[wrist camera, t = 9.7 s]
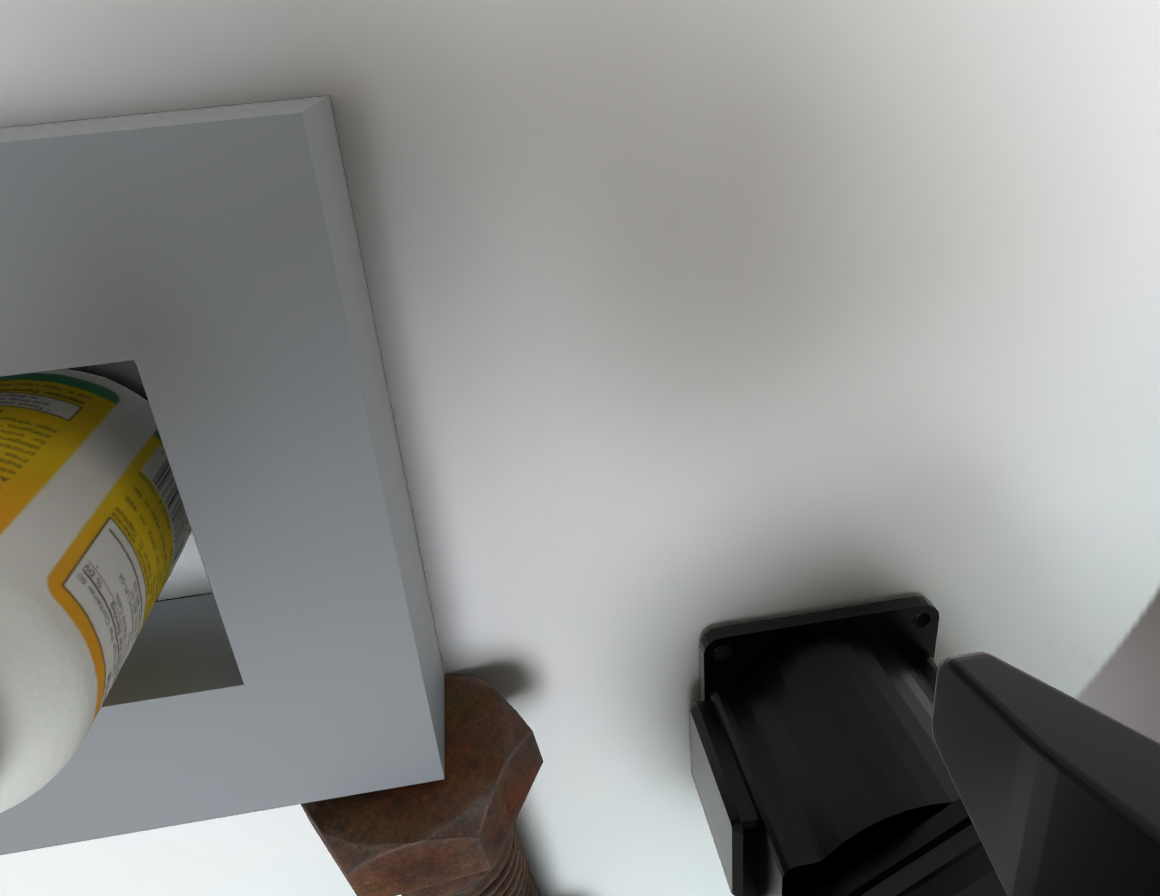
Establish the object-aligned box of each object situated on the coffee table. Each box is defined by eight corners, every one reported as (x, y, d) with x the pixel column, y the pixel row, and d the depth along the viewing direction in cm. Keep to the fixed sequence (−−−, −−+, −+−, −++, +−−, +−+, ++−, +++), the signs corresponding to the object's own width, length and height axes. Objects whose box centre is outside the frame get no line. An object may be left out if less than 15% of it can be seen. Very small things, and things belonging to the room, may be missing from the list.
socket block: (329, 95, 16) (301, 112, 13) (444, 674, 22) (444, 779, 19) (-497, 176, 15) (-750, 216, 12) (-128, 765, 21) (-227, 893, 18)
